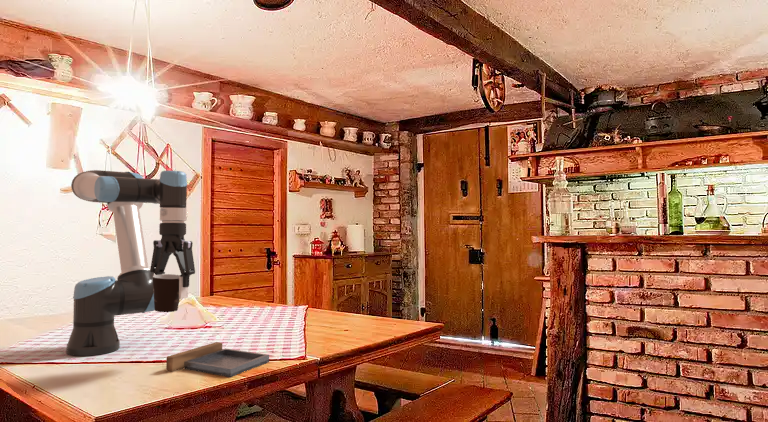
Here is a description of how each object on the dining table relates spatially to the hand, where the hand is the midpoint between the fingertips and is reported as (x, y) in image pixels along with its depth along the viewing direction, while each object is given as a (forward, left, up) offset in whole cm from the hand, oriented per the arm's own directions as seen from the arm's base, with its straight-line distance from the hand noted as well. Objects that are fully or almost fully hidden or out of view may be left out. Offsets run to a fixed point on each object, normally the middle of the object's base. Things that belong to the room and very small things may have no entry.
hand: (171, 297), depth 158 cm
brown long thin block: (+7, +3, -20) cm, 21 cm away
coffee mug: (-1, 0, -4) cm, 4 cm away
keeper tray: (+17, +5, -20) cm, 27 cm away
